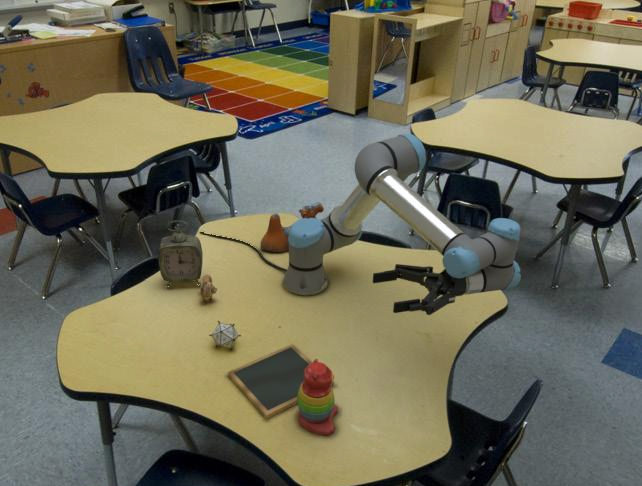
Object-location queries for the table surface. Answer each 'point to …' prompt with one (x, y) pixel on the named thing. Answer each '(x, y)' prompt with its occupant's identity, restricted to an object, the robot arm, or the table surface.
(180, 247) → the tabletop clock
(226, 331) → the game die
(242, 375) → the chalkboard
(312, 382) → the stacking bear
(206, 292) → the lion figurine
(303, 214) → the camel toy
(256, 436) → the table surface
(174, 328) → the table surface
